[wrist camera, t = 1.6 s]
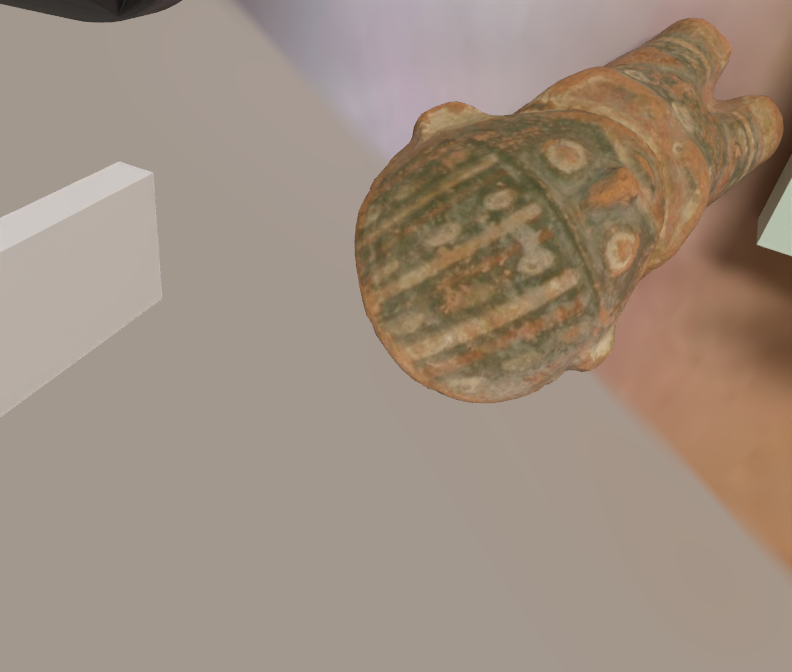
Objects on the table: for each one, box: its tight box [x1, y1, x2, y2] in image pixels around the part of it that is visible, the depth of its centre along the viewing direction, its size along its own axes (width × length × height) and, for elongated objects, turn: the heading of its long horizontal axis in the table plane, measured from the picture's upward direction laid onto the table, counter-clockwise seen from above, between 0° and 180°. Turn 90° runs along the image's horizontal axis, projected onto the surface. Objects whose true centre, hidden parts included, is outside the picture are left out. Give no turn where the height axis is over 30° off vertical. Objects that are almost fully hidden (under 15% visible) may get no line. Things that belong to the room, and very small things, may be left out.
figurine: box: [355, 18, 783, 403], centre depth 21 cm, size 8×8×15 cm
